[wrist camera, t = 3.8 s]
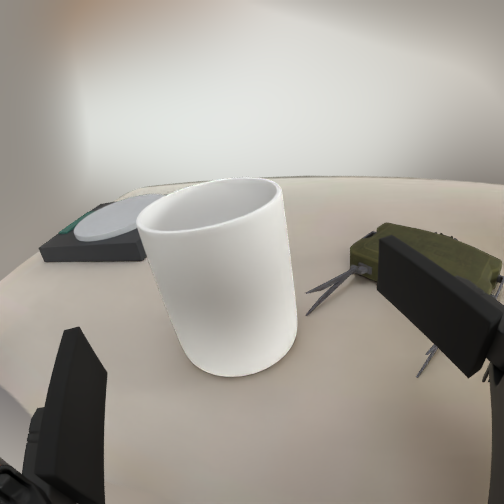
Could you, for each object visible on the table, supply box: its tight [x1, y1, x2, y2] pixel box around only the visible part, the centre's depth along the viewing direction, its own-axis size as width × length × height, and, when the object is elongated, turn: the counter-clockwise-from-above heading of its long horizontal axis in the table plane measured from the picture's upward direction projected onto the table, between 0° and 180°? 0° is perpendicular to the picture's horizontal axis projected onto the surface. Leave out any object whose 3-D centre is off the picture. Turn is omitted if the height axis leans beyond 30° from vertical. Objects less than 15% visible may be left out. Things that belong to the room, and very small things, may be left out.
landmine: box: [306, 223, 504, 378], centre depth 23 cm, size 14×3×15 cm
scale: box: [39, 194, 168, 262], centre depth 45 cm, size 20×17×3 cm
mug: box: [136, 177, 297, 377], centre depth 22 cm, size 12×8×10 cm
